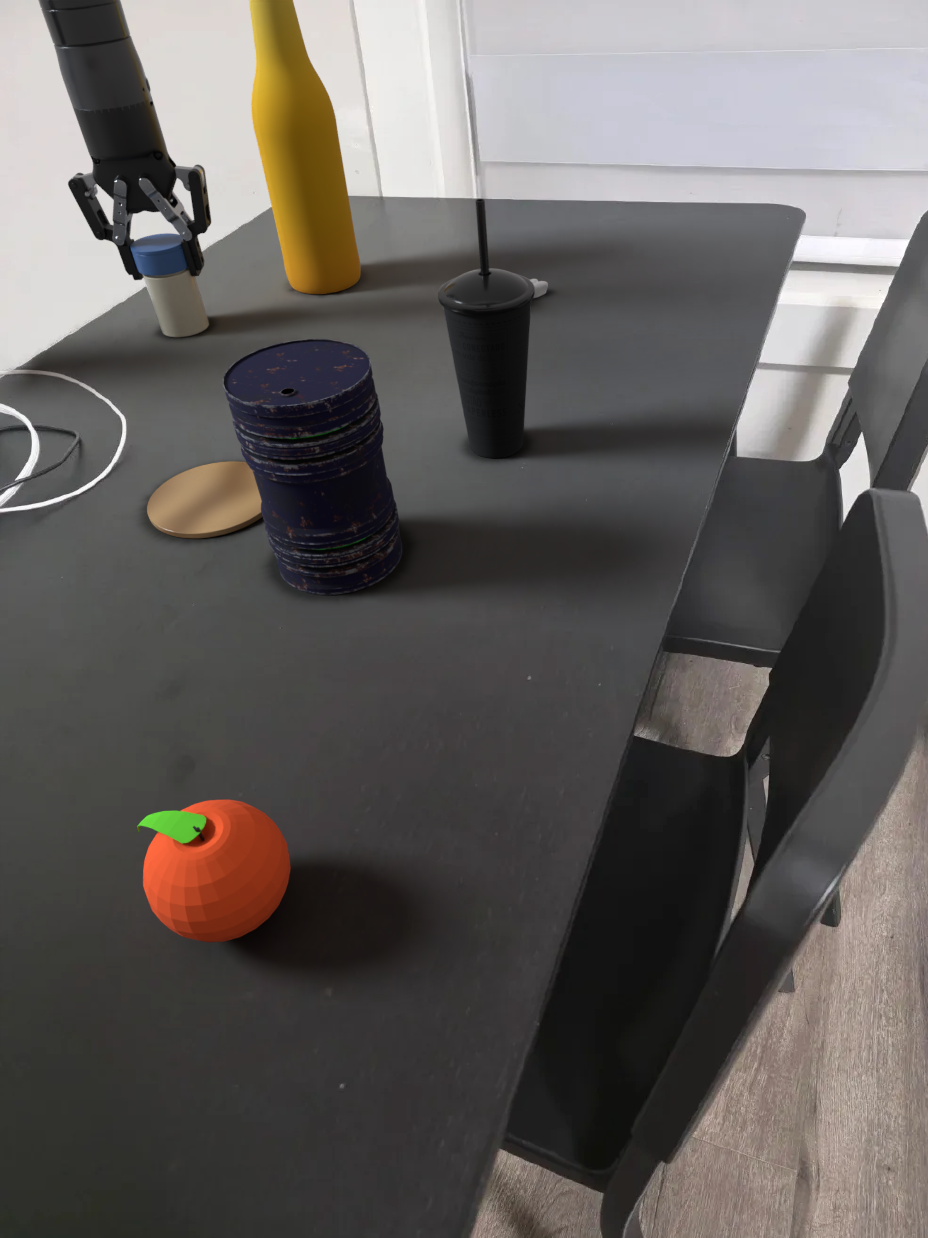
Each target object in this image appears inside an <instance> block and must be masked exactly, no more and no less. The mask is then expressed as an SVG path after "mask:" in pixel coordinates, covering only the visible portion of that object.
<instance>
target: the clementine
mask: <svg viewBox="0 0 928 1238" xmlns="http://www.w3.org/2000/svg"><path fill="white" fill-rule="evenodd" d="M141 827H145V828H148V829H152V830H153V831H156V834H155V836H154V837H153V839H152V841H151V842H150V844H149V845H148V848H147V851H146V855H145V858H144V861H143V871H142V872H143V873H142V886H143V890H144V893H145V895H146V898H147V899H146V900H147V901H148V904H149V906H150V909H151V911H152V913H153V914H154V915H155V916H156V917H157V919H158V920H159V921H160V922H161V923H162V924H163V925H165V926H166V928H168V930H170V931H172V932H173V933H175V934H177V935H179V936H181V937H182V938H186V939H190V940H194V941H199V942H204V943H223V942H227V941H231V940H234V939H235V940H236V939H239V938H241V937H243V936H245V935H247V934H248V933H250V932H253V931H254V930H256V929H258V928H259V927H260V926H261V925H263V923H265V922H266V921H268V919H269V918H270V917H271V916H272V915H273V913H274V912H275V911H276V910H277V908H278V907H279V906H280V903H281V902H282V900H283V897H284V896H285V894H286V891H287V887H288V885H289V880H290V874H291V860H290V859H291V858H290V853H289V848H288V842H287V841H286V838H285V837H284V834H283V833H282V831H281V830H280V828H279V827H278V825H277V824H276V823H275V821H274V820H273V819H272V818H271V817H269V816H268V814H266V813H265V812H264V811H262V810H261V809H259V808H257V807H254V806H252V805H250V804H248V803H246V802H244V801H240V800H235V799H209V800H204V801H200V802H198V803H194V804H191V805H189V806H188V807H185V808H183V809H181V810H163V811H158V812H154V813H151V814H148V815H146V816H145V817H144V818H143V819H142V820H141V821H140V822H139V823H138V825H137V826H136V829H137V833H138V834H140V833H141Z"/></svg>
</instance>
